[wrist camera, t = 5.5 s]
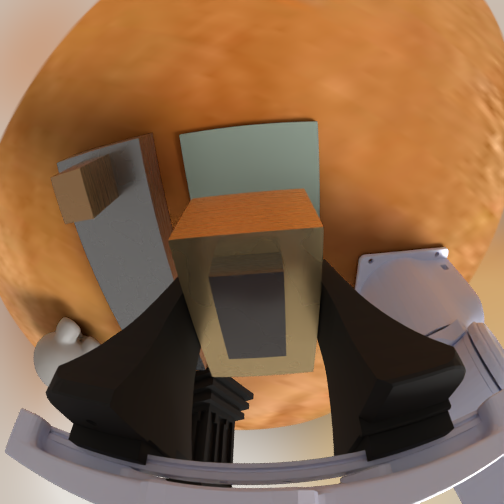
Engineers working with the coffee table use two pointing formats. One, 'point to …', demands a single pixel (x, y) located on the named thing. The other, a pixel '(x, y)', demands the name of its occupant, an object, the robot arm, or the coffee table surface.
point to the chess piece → (215, 419)
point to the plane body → (121, 222)
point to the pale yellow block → (252, 280)
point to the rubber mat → (253, 159)
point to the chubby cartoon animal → (60, 348)
